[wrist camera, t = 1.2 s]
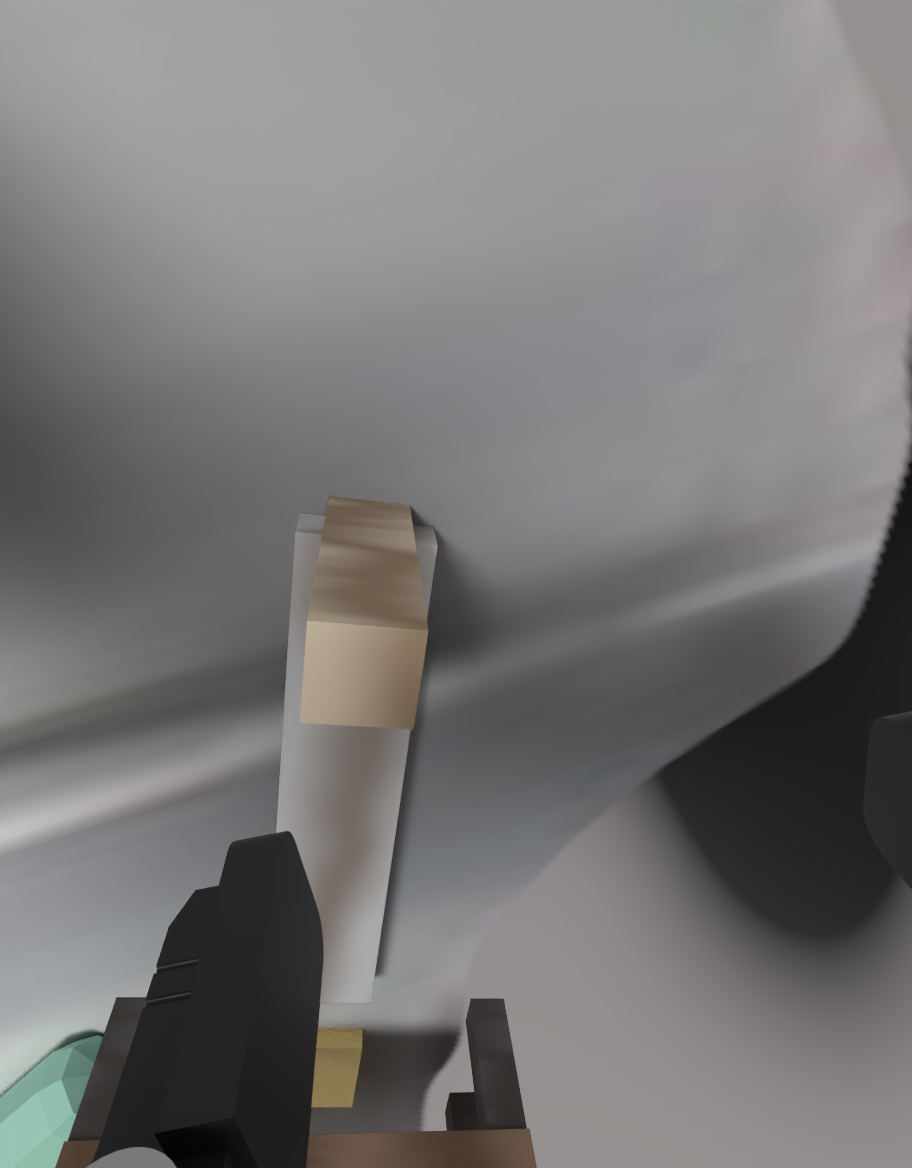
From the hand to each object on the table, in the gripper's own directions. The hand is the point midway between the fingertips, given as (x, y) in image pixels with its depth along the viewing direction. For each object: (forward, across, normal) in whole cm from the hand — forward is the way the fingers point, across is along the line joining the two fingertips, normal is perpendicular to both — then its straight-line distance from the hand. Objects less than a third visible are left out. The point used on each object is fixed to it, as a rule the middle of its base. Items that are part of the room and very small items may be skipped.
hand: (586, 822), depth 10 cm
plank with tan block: (+19, +7, +13) cm, 24 cm away
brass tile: (+19, +13, +31) cm, 39 cm away
